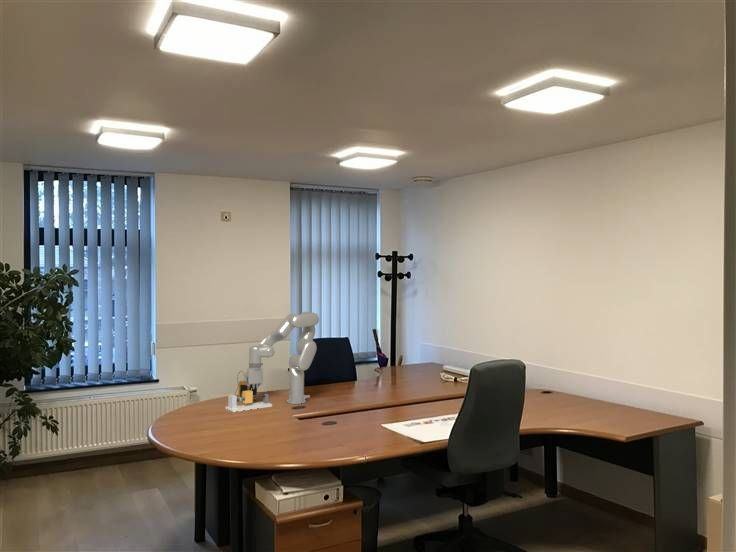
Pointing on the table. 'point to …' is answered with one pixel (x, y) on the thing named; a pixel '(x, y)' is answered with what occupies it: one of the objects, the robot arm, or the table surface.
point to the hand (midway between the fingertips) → (254, 394)
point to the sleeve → (247, 396)
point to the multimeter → (243, 387)
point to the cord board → (234, 407)
